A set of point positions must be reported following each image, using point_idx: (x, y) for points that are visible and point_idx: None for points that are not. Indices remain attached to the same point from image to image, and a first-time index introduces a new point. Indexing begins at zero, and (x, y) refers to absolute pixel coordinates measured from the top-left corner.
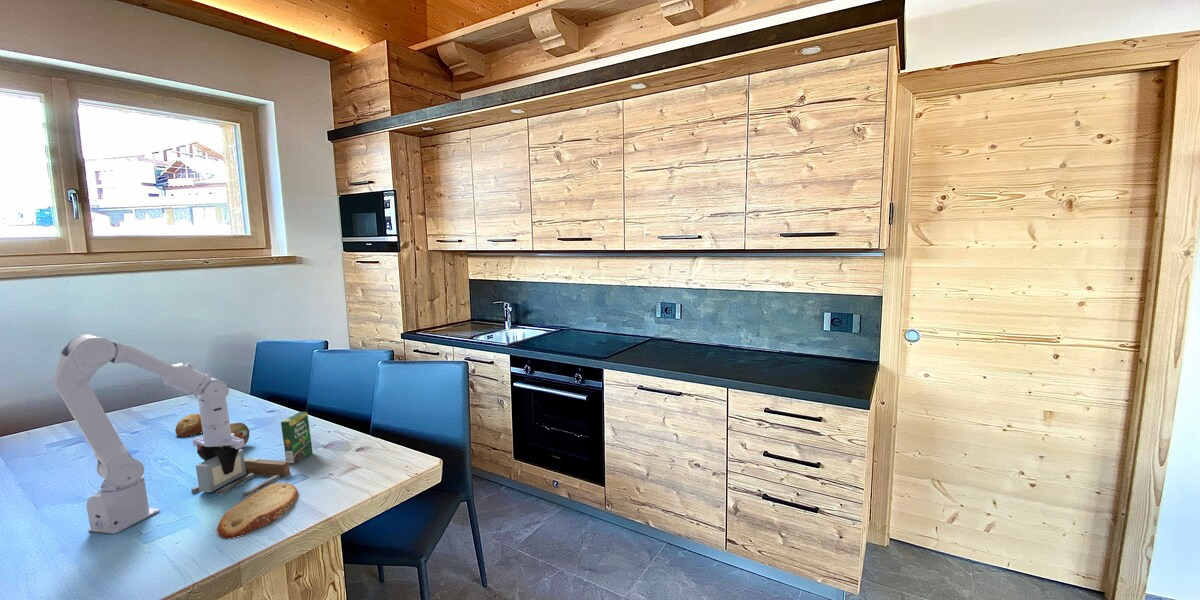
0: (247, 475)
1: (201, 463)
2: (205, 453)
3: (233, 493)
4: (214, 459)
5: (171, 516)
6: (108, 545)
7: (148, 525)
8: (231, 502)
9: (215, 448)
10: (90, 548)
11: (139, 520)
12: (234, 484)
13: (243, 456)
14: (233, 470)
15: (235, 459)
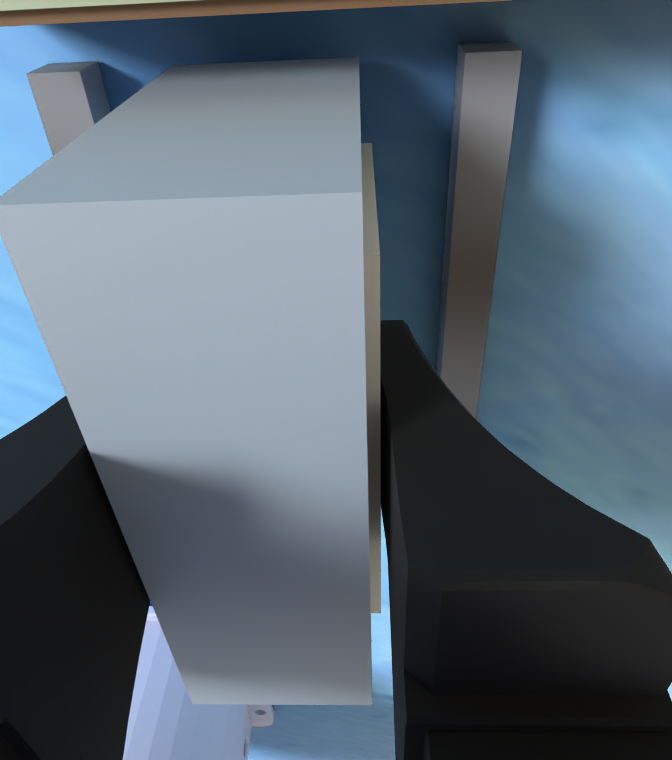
0: (470, 139)
1: (204, 675)
2: (114, 746)
3: (563, 391)
4: (245, 595)
5: (382, 618)
6: (346, 742)
7: None
8: (664, 484)
9: (43, 659)
10: (295, 753)
11: None
12: (486, 330)
13: (359, 138)
14: (401, 320)
15: (461, 404)
